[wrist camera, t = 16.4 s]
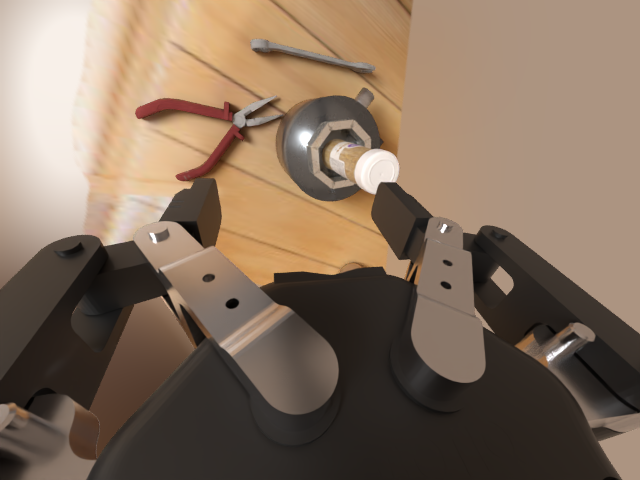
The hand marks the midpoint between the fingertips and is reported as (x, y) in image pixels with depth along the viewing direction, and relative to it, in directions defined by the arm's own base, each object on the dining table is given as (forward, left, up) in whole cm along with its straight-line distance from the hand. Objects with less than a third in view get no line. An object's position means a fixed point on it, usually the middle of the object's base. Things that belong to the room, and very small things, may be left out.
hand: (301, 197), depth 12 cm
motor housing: (+10, +7, -34) cm, 36 cm away
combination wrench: (+2, +16, -34) cm, 38 cm away
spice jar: (+10, +6, -24) cm, 26 cm away
